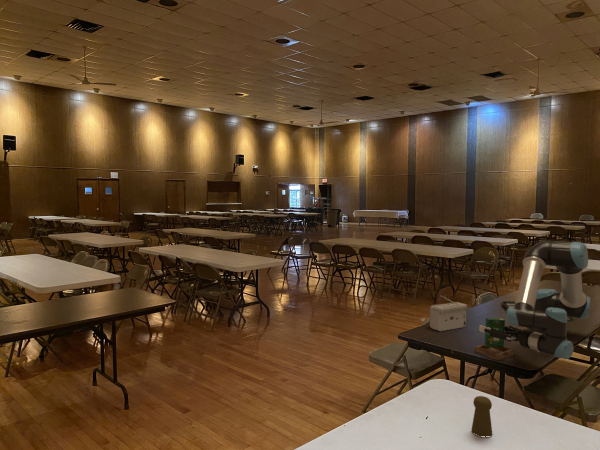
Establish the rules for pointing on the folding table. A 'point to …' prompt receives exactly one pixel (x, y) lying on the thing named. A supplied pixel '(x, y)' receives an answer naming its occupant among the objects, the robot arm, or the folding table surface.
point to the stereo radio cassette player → (448, 316)
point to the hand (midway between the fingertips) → (485, 326)
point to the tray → (494, 352)
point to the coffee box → (496, 325)
